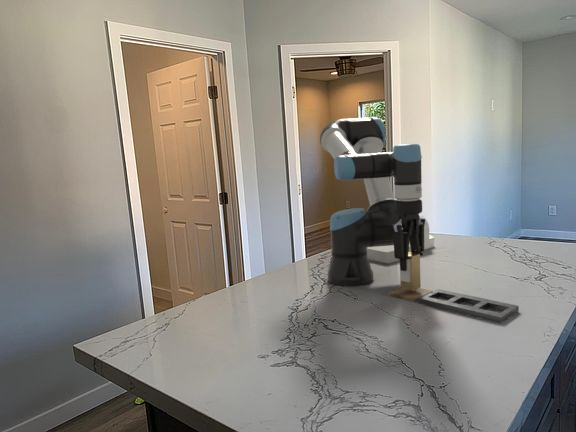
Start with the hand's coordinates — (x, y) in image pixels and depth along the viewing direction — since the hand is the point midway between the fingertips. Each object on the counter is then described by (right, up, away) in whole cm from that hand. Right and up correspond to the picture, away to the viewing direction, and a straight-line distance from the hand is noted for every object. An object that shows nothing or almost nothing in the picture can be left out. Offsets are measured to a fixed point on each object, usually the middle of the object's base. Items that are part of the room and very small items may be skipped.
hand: (410, 279), depth 128 cm
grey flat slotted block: (+11, -6, -12) cm, 18 cm away
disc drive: (+2, +2, +50) cm, 50 cm away
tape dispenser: (+19, +5, +64) cm, 67 cm away
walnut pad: (0, -5, +1) cm, 5 cm away
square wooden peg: (0, -3, 0) cm, 3 cm away
